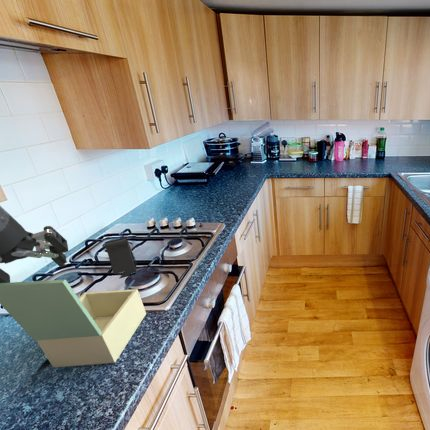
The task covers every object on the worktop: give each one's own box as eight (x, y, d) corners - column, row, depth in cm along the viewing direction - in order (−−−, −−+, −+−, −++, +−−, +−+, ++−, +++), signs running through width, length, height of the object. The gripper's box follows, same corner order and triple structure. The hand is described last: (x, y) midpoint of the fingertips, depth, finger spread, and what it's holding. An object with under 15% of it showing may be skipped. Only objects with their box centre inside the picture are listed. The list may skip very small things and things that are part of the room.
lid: (-12, 283, 53) (-16, 287, 52) (65, 279, 54) (62, 282, 53) (36, 337, 62) (33, 340, 61) (102, 332, 63) (100, 335, 62)
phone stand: (136, 274, 97) (125, 243, 92) (115, 279, 95) (103, 249, 90) (136, 261, 104) (126, 232, 99) (116, 266, 102) (105, 236, 97)
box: (96, 317, 80) (84, 292, 76) (146, 313, 81) (137, 289, 77) (53, 367, 66) (36, 340, 62) (115, 362, 67) (102, 335, 63)
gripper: (33, 194, 50) (76, 244, 62) (-89, 221, 43) (-13, 270, 56) (36, 226, 46) (81, 272, 59) (-96, 260, 40) (-13, 303, 52)
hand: (35, 271), depth 57 cm, fingers open, 8 cm apart
